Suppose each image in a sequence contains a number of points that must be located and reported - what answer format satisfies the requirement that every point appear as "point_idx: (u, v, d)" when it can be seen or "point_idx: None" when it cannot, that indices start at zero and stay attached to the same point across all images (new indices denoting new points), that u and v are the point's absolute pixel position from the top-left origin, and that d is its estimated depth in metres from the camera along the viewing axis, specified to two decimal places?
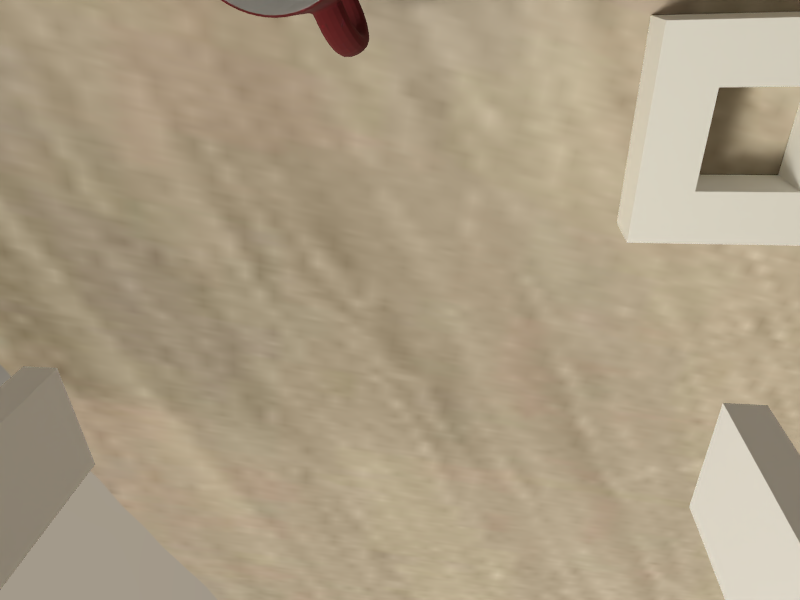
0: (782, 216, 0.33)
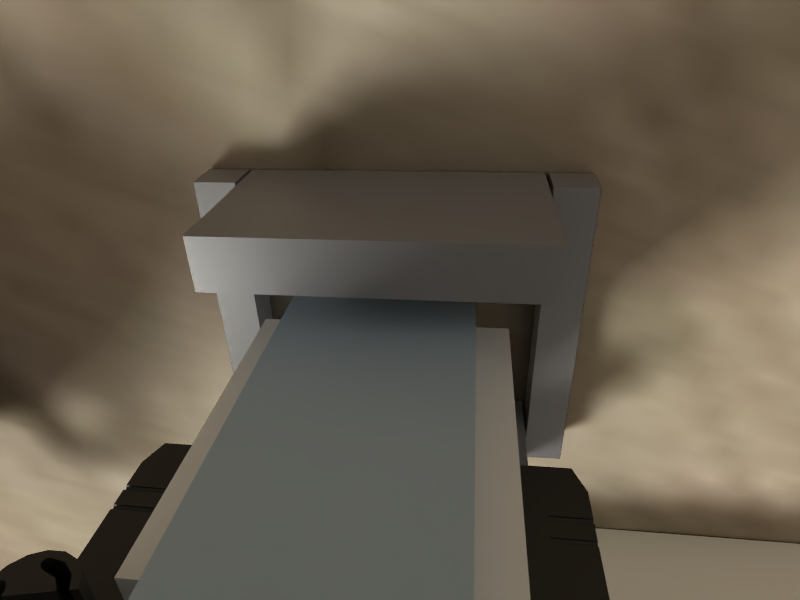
0: None
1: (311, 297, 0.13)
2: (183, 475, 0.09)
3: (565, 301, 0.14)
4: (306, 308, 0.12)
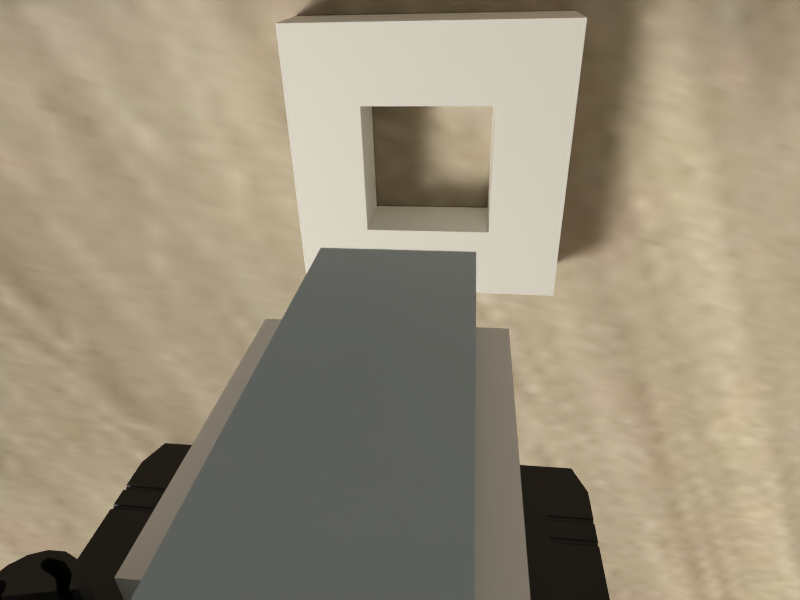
0: None
1: (311, 300, 0.13)
2: (183, 475, 0.09)
3: None
4: (306, 311, 0.12)
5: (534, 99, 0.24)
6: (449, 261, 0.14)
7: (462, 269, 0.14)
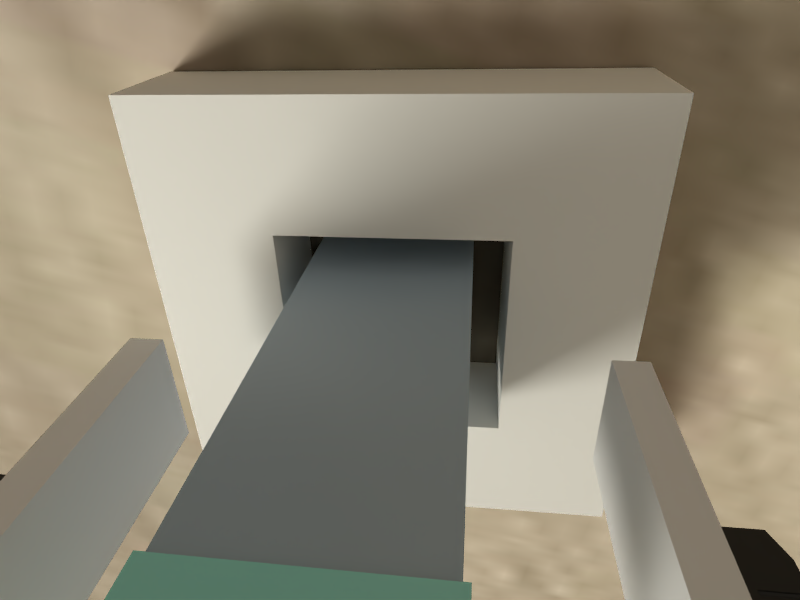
0: (473, 464, 0.17)
1: (326, 261, 0.14)
2: None
3: None
4: (322, 270, 0.14)
5: (584, 233, 0.13)
6: None
7: None
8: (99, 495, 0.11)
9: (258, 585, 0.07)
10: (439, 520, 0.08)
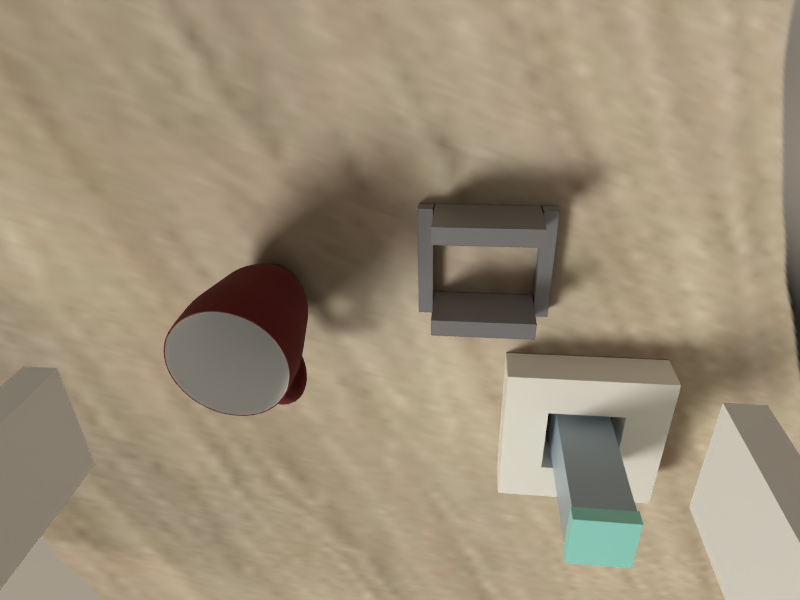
0: None
1: (562, 419, 0.44)
2: None
3: (548, 251, 0.39)
4: (563, 423, 0.44)
5: (648, 416, 0.43)
6: None
7: None
8: None
9: (599, 512, 0.37)
10: (628, 500, 0.38)
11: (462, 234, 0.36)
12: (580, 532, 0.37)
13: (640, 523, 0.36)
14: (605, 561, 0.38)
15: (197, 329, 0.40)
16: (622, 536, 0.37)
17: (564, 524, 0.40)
